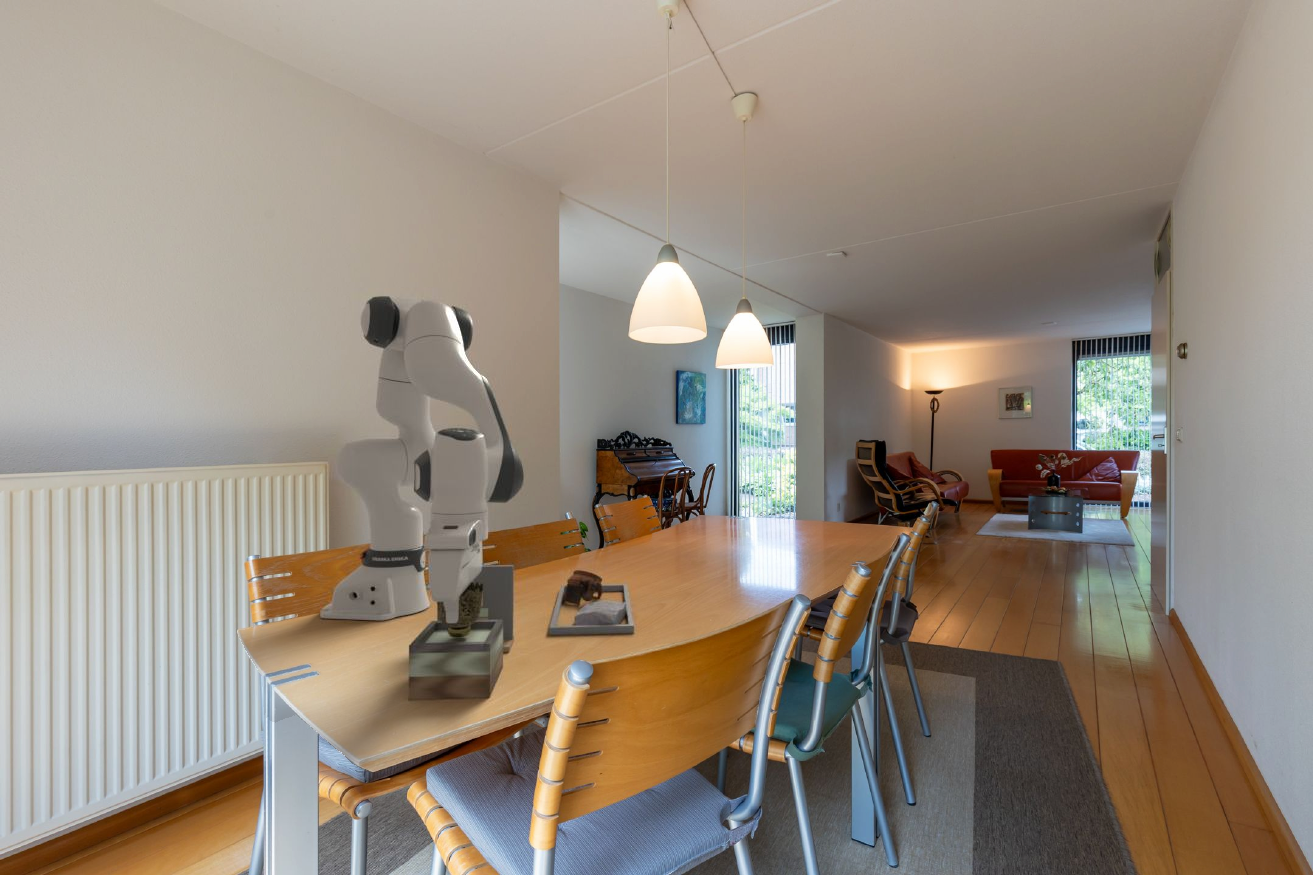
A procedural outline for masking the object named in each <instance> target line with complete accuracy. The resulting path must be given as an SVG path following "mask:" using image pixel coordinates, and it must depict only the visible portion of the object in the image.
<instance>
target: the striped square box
mask: <svg viewBox="0 0 1313 875" xmlns="http://www.w3.org/2000/svg"><path fill="white" fill-rule="evenodd" d="M470 626H471V632H470V634H469V635H467V636H464V637H458V638H456V637H451V636H449V634H448V632H447V631H448V628H449V627H447V626H445V625H444V624H443V623H442V622H441V621H437V620H432V621H430V622H429V623H428V624H427V625H426V627H425V628H423V629H422V631H421V632H420V633H419V634H418V635H417V636H416V637H415V638H414V639H413V641H412V642H411V643H410V644H409V645H408V700H409V701H417V700H420V701H423V700H449V699H450V700H451V699H452V700H454V699H477V698H479V699H480V698H482V699H483V698H491V696H492V694H493V691H494V689H495V687H496V684H497V682H498V679H499V677H500V675H501V672H502V670H503V668H504V652H503V620H476V621H475V622H474V623H473V624H472V625H470Z"/></svg>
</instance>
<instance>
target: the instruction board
mask: <svg viewBox="0 0 1313 875" xmlns="http://www.w3.org/2000/svg"><path fill="white" fill-rule="evenodd" d="M514 567H515V565H514V564H498V565H495V564H493V565H491V564H490V565H482V571H481V572H480V573H479V575H478V576H477V577H476V578H475V579H474V586H475V584H476V582H478V583H479V586H480V584H481V583H483V585H484V588H483V596H482V604H481V610H480V614H479V617H478V619H477V620H503V653H510V652H511V650H512V647H513V644H514V643H513V642H515V636H514V606H515V605H514V599H515V598H514V591H515V590H514V589H515V588H514V584H515V582H514V579H515V575H514V574H515V568H514ZM436 609H437V611H436V618H437V619H436V621H441V620H440V618H439V614H438V607H437V606H436Z"/></svg>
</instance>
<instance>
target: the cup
mask: <svg viewBox="0 0 1313 875" xmlns="http://www.w3.org/2000/svg"><path fill="white" fill-rule="evenodd" d="M483 588H484V585H483V583H481V584H480V586H479V583H478V582H476V584H475V586H474V583H473V582H472V583H471V584H470V585H469V586H468V587H467V588H466V589H465V591H464V592H463V593H462V594H461V595H460V596H459V601H458V602H459V609H460V619H459V620H458V622H457V623H447V622H446V611H445V608H444V604H443V602H436V604H437V606H436V608H437V607H438V614H439V618H440V620H441V622H442V623H443V624H444V625H445V626H447V627H449V628H448V631H447V632H448V634H449V636H451V637H456V638H458V637H464V636H467V635H469V634H470V632H471V626H470V625H472V624H473V623H474V622H475V621H476V620H477V619H478V617H479V614H480V610H481V604H482V596H483Z"/></svg>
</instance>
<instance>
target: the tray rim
mask: <svg viewBox="0 0 1313 875" xmlns="http://www.w3.org/2000/svg"><path fill="white" fill-rule="evenodd" d="M559 588H560V589H559V592H558V595H557V598H556V603H555V606H554V609H553V613H552V616H551V620H550V624H549V628H548V629H549V630H548V632H549V634H548V635H549V636H565V635H566V636H570V635H572V636H573V635H574V636H575V635H611V634H613V635H614V634H616V635H617V634H620V635H621V634H635V623H634V617H633V616H634V615H633V611H632V605H631V600H630V594H629V587H628V583H624V584H622V583H621V584H602V592H623V598H624V602H626V620H627V624H622V623H621V624H620V625H578V626H576V625H558V622H559V618H560V614H561V608H562V605H563V593H564V592H566V588H567V584H566V585H565V584H562V585H560V587H559Z"/></svg>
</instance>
